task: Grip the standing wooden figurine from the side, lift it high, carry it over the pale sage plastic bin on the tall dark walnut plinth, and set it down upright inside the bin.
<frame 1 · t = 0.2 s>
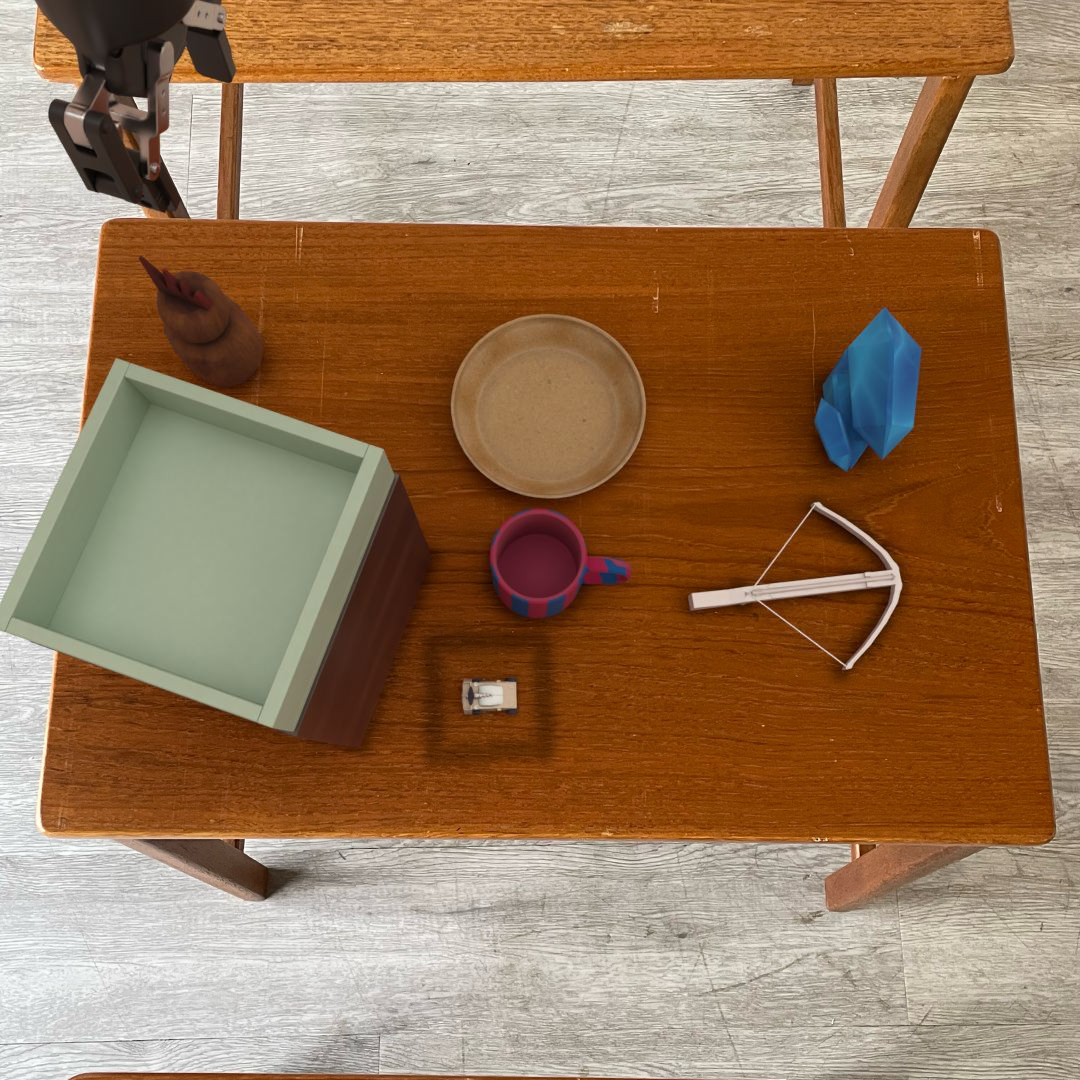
hand: (190, 137, 58), 25 cm above the table, tool pointing down, fingers open, 8 cm apart
crossbow: (792, 591, 78), on the table
bin: (218, 555, 56), resting on plinth
plant saucer: (547, 416, 81), on the table
wooden figurine: (230, 360, 82), on the table
crystal: (845, 414, 82), on the table
cup: (558, 579, 78), on the table
toy car: (488, 697, 76), on the table
plinth: (302, 617, 77), on the table
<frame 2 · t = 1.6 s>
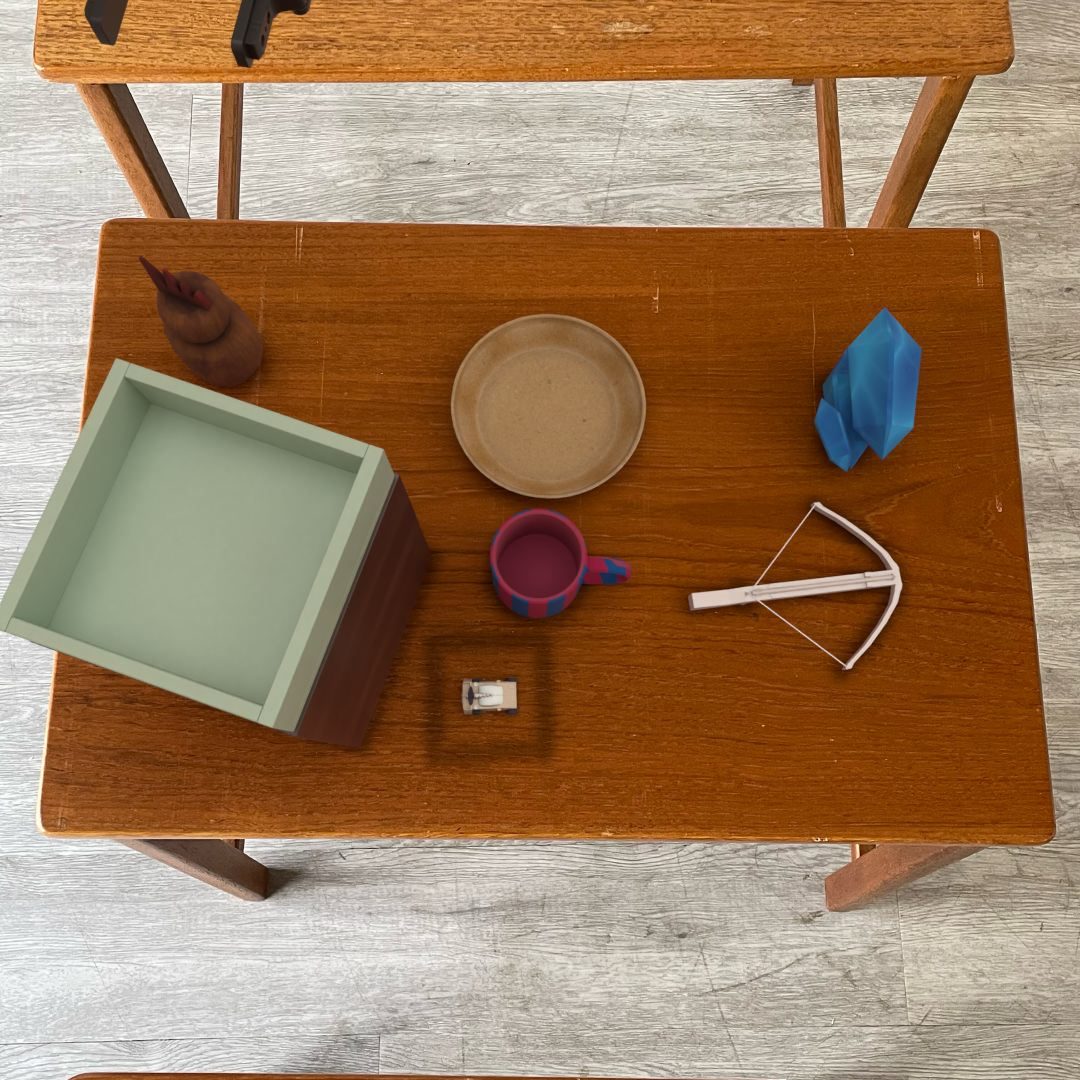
hand: (170, 47, 62), 22 cm above the table, tool horizontal, fingers open, 8 cm apart
nothing on the table moved.
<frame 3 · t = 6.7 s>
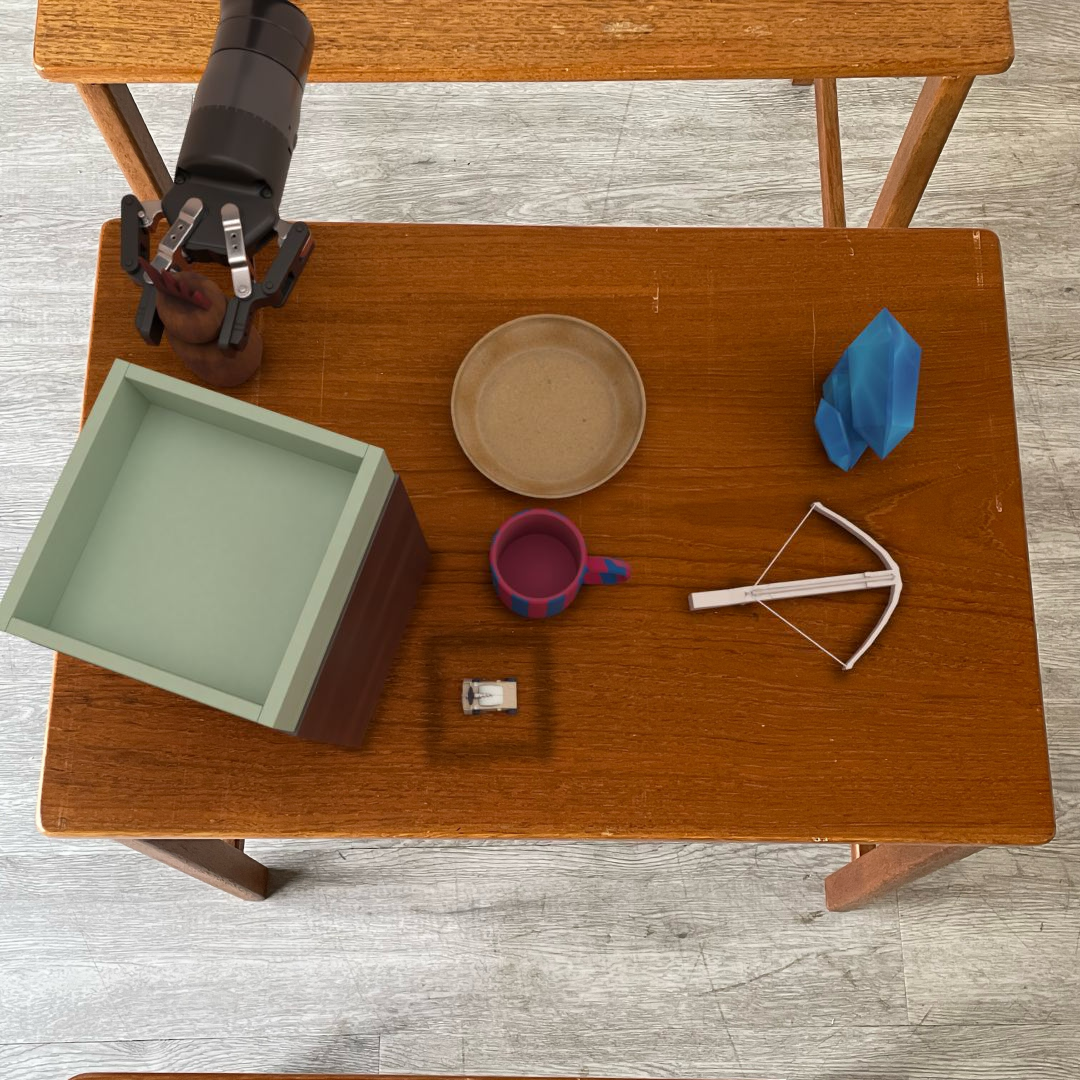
hand: (188, 346, 72), 9 cm above the table, tool horizontal, fingers closed on wooden figurine, 5 cm apart
wooden figurine: (230, 360, 82), on the table, touching gripper
everything else where it was.
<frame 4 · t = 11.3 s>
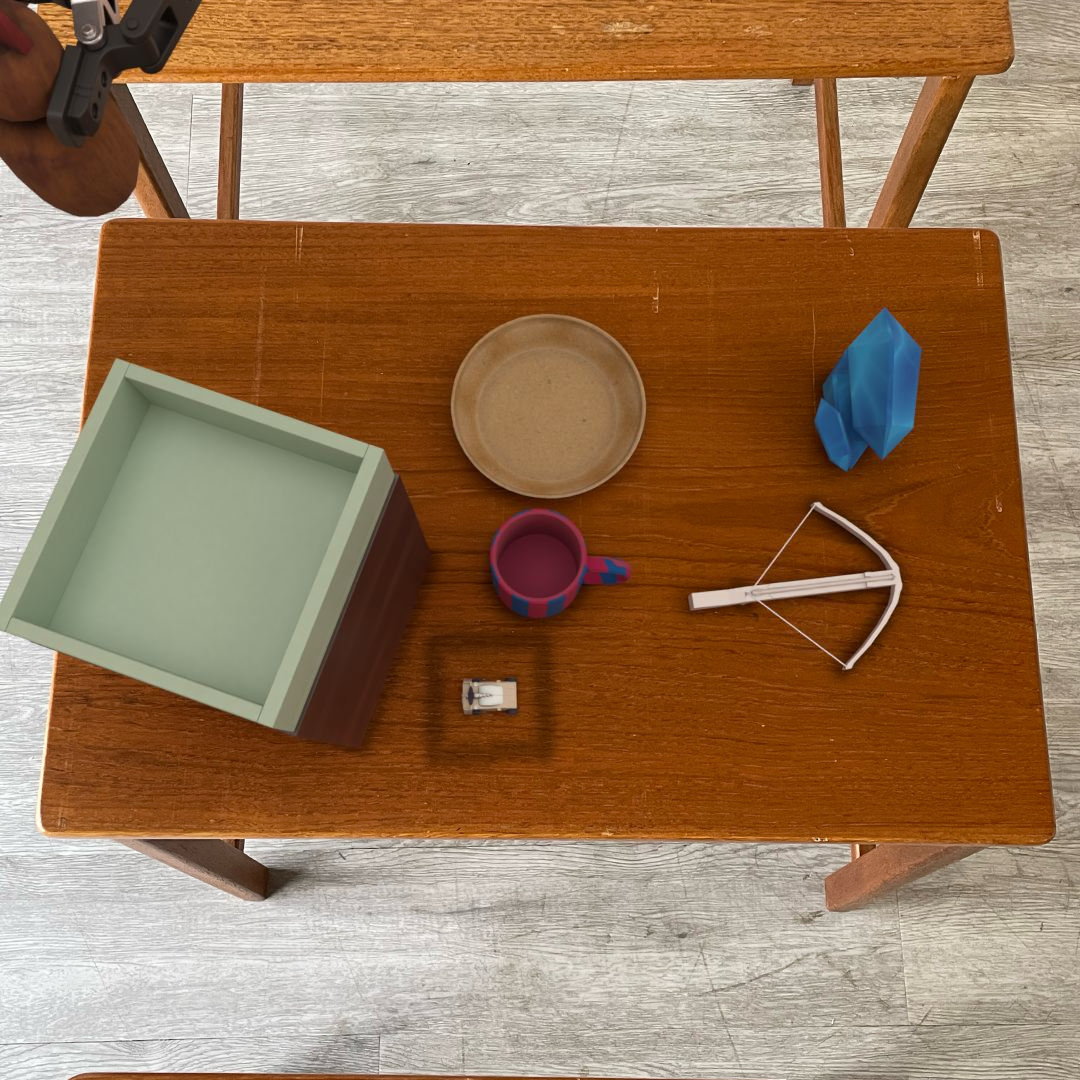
hand: (1, 125, 45), 37 cm above the table, tool horizontal, fingers closed on wooden figurine, 5 cm apart
wooden figurine: (94, 182, 54), point 28 cm above the table, touching gripper
everything else where it was.
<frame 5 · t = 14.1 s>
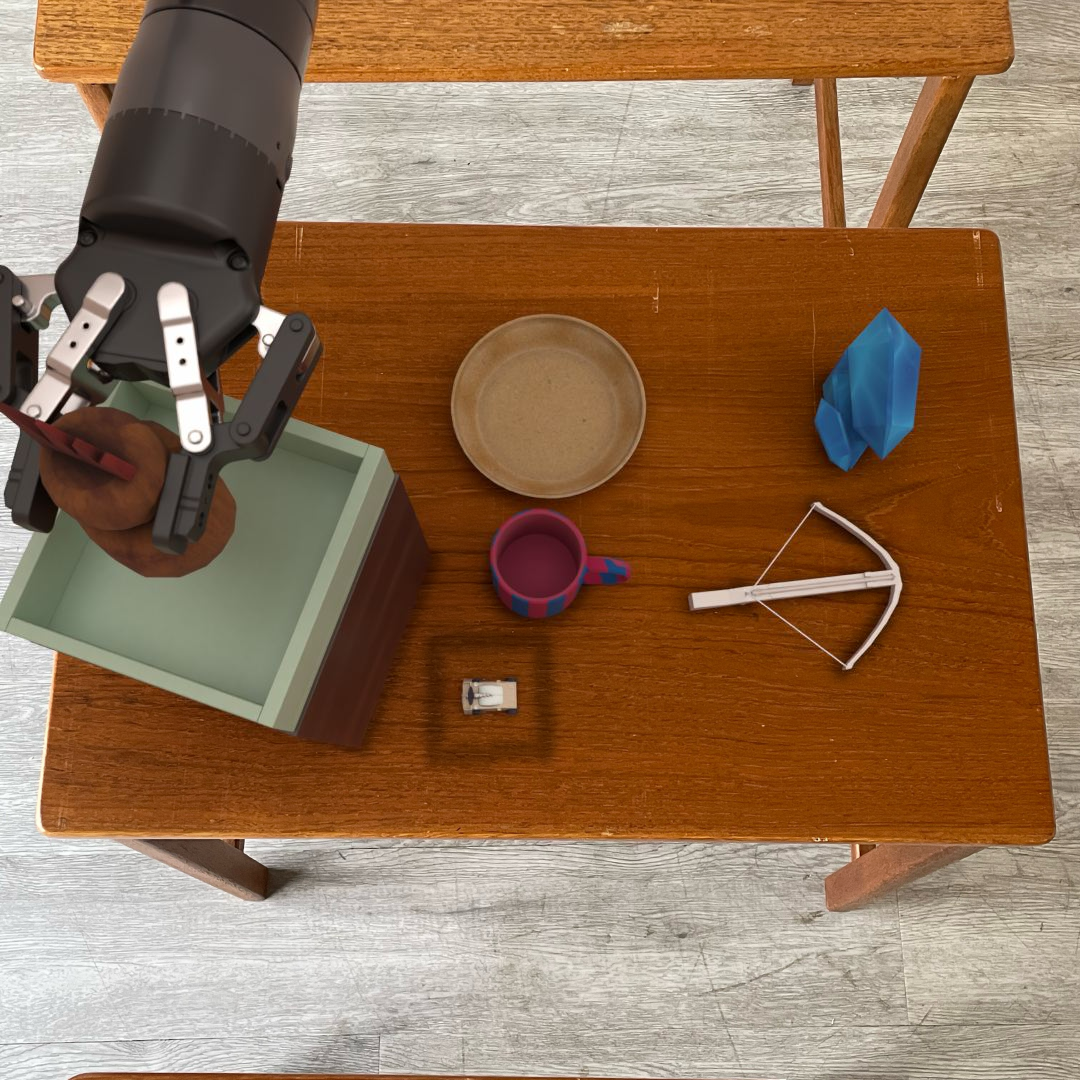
hand: (100, 537, 41), 36 cm above the table, tool horizontal, fingers closed on wooden figurine, 5 cm apart
wooden figurine: (184, 523, 50), point 28 cm above the table, touching gripper
everything else where it was.
when the fingers open (31 cm above the table, at t = 16.0 s): wooden figurine stays where it is, resting on bin.
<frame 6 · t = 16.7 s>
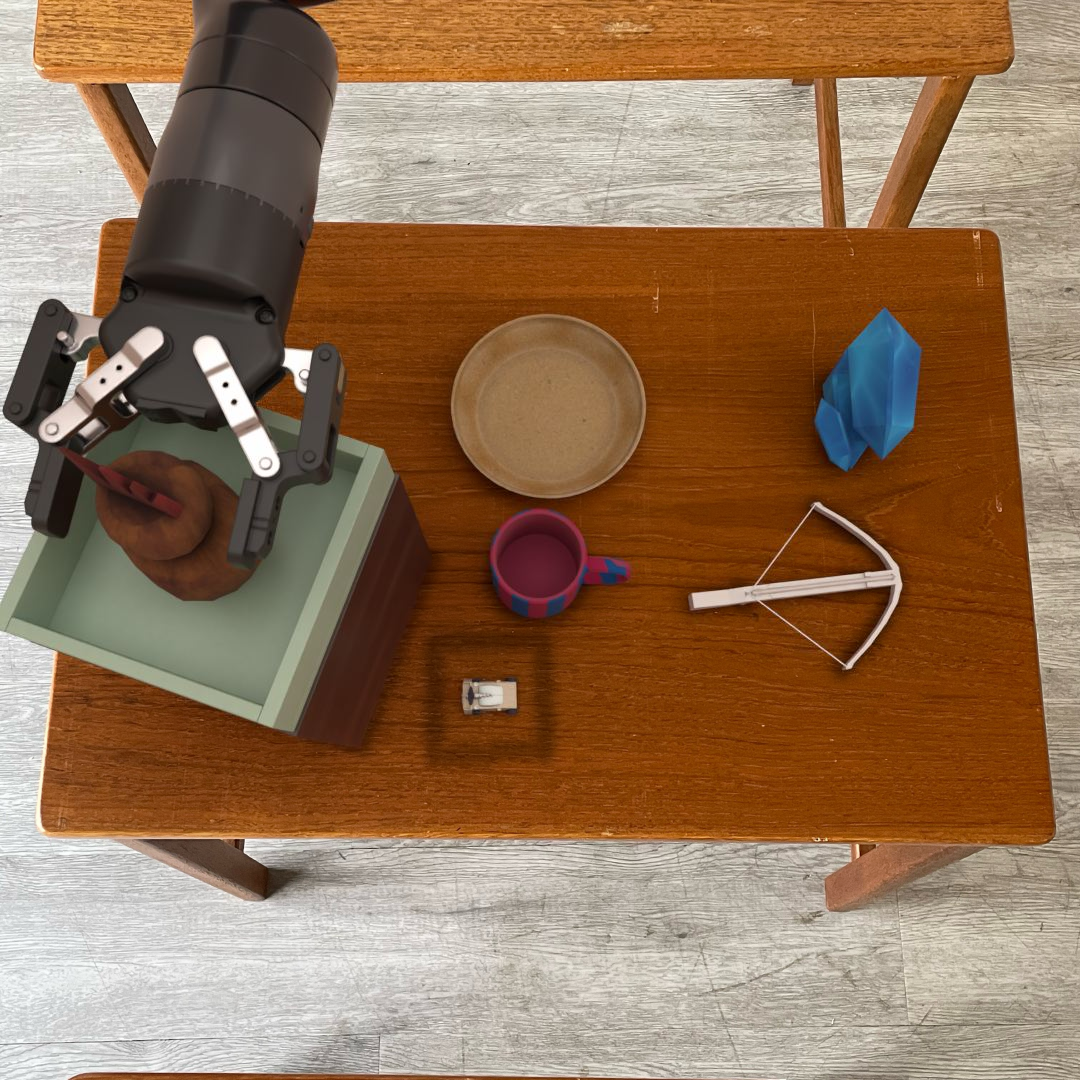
hand: (144, 550, 45), 32 cm above the table, tool horizontal, fingers open, 8 cm apart
wooden figurine: (215, 551, 55), point 23 cm above the table, touching bin
everything else where it was.
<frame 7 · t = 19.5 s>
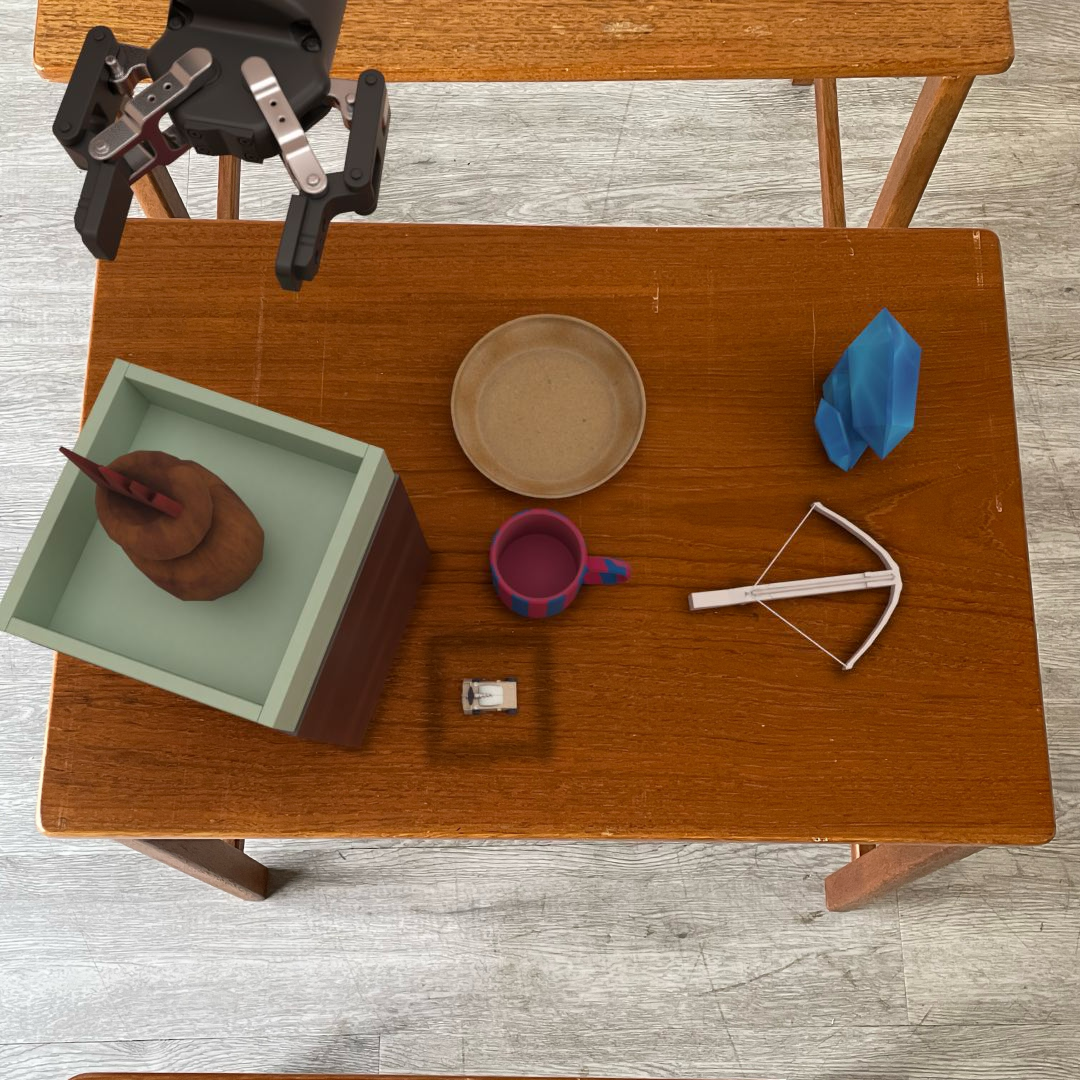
hand: (192, 267, 46), 34 cm above the table, tool horizontal, fingers open, 8 cm apart
nothing on the table moved.
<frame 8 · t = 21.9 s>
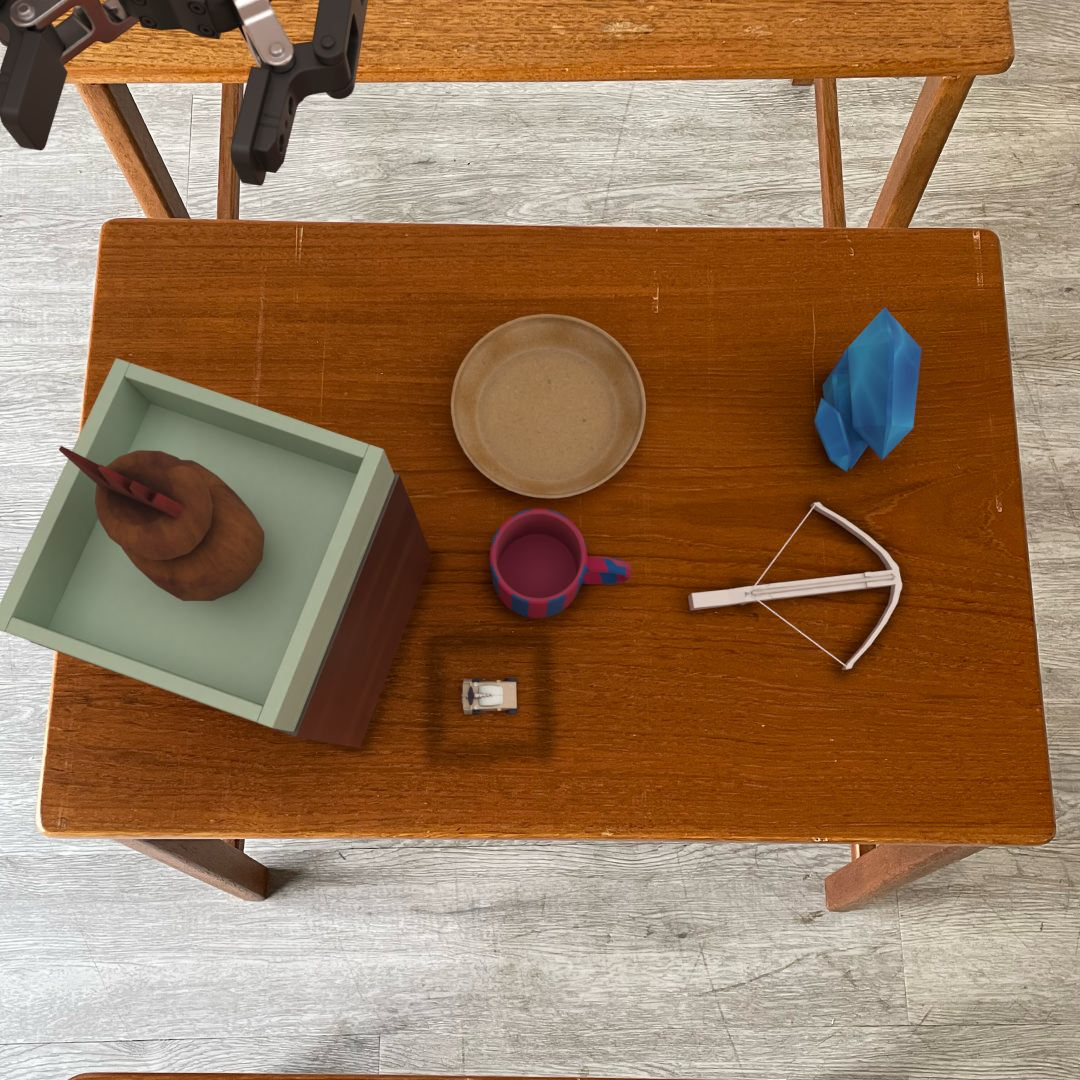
hand: (133, 155, 38), 42 cm above the table, tool horizontal, fingers open, 8 cm apart
nothing on the table moved.
at the end: wooden figurine inside the target area on the bin (0.1 cm from its centre), point 0.6 cm above the bin's base; wooden figurine tilted 0°; the gripper is holding nothing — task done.
